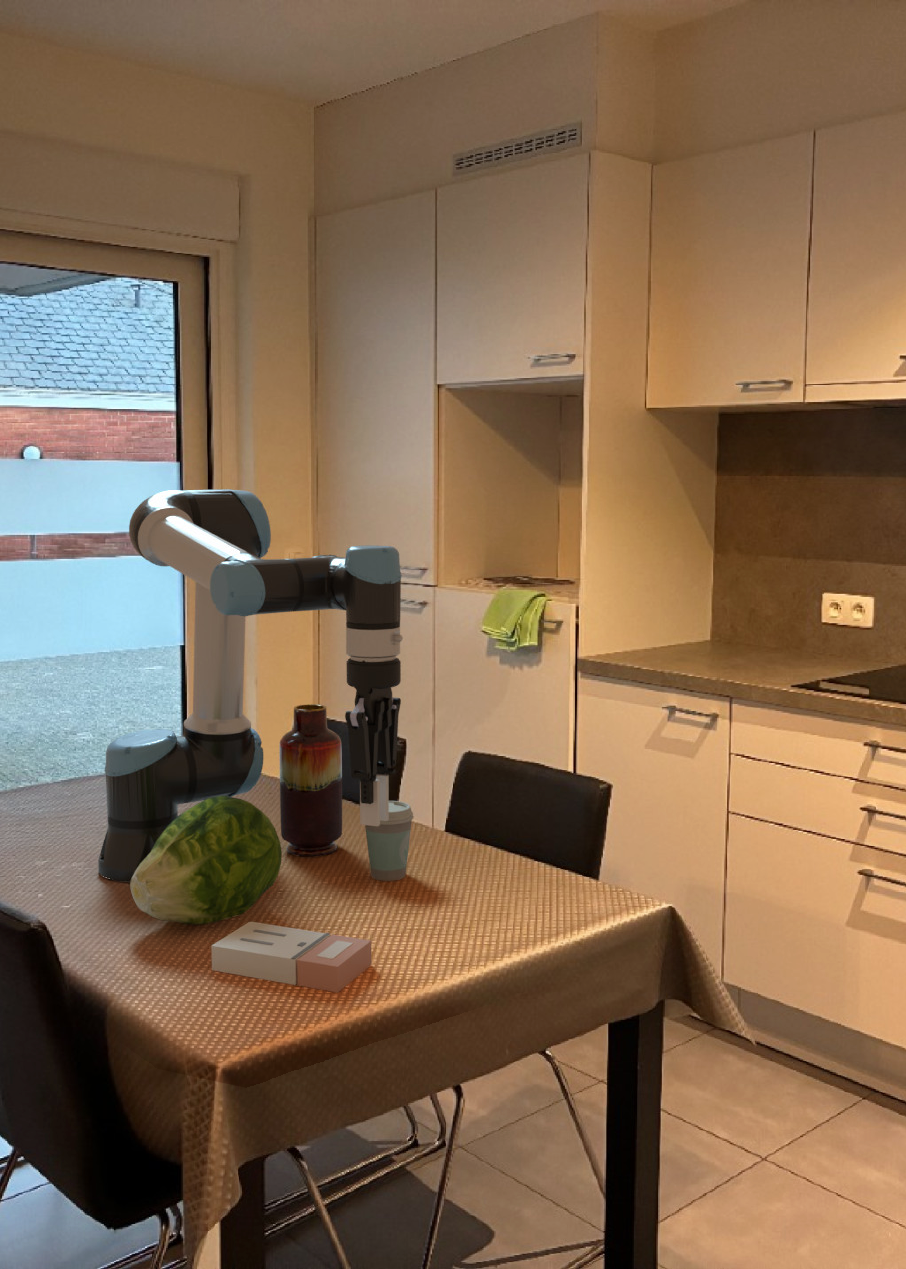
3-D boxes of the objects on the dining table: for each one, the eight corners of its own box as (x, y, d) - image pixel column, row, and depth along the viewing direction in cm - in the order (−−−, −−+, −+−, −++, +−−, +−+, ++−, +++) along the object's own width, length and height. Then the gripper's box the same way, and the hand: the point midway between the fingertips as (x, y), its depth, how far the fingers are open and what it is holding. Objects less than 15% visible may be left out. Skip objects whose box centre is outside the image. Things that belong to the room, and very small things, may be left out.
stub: (297, 985, 166) (297, 959, 165) (332, 958, 175) (332, 933, 174) (337, 992, 163) (337, 966, 163) (371, 965, 172) (371, 939, 172)
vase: (303, 862, 218) (301, 715, 214) (269, 848, 226) (266, 706, 223) (354, 850, 225) (353, 707, 222) (319, 837, 233) (317, 699, 230)
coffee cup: (407, 885, 206) (406, 814, 204) (357, 881, 208) (356, 811, 206) (418, 869, 214) (418, 801, 213) (370, 866, 216) (370, 798, 214)
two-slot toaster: (211, 970, 171) (211, 944, 170) (250, 944, 180) (250, 920, 179) (295, 985, 166) (295, 959, 165) (330, 958, 175) (330, 933, 174)
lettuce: (110, 916, 192) (98, 813, 185) (240, 861, 207) (233, 764, 200) (172, 974, 179) (161, 866, 172) (306, 911, 194) (301, 809, 187)
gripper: (374, 666, 165) (375, 839, 168) (420, 651, 179) (420, 811, 182) (323, 663, 168) (325, 833, 171) (373, 648, 182) (374, 806, 185)
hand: (374, 821), depth 176 cm, fingers open, 2 cm apart
